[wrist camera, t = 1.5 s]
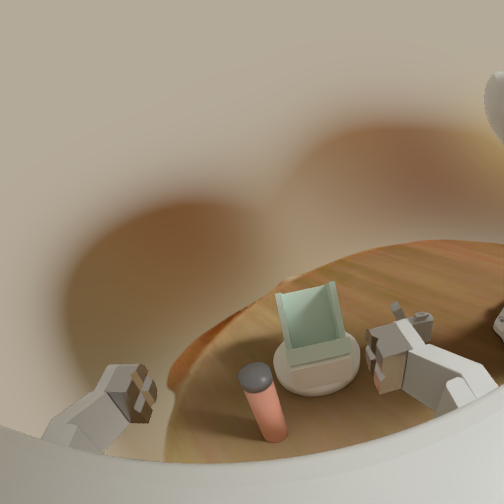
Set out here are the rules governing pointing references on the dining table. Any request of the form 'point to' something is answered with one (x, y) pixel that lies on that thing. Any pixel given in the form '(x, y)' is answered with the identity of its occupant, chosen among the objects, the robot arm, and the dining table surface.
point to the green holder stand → (314, 343)
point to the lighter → (416, 321)
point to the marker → (263, 400)
